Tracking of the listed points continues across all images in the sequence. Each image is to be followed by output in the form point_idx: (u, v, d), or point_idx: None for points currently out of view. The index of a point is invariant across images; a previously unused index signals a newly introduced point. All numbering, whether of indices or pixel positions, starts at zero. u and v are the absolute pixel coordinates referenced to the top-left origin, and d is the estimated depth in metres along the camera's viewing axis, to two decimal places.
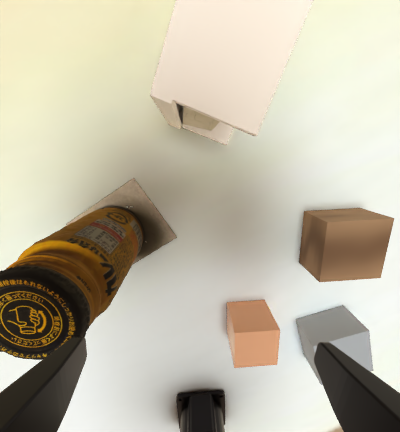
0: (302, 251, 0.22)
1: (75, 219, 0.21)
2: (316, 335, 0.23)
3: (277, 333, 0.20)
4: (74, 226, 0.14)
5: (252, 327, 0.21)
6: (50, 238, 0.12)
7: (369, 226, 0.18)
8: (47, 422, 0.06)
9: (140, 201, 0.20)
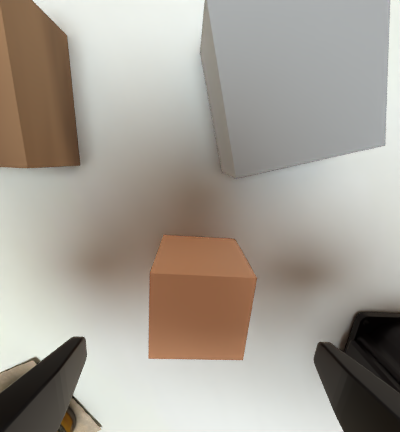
0: None
1: None
2: (227, 154, 0.09)
3: (159, 278, 0.08)
4: None
5: None
6: None
7: None
8: (47, 422, 0.06)
9: None
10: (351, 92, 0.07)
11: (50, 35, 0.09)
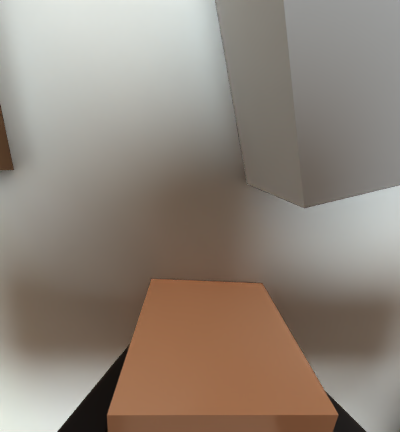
0: None
1: None
2: (273, 153, 0.04)
3: (130, 423, 0.04)
4: None
5: None
6: None
7: None
8: None
9: None
10: None
11: None
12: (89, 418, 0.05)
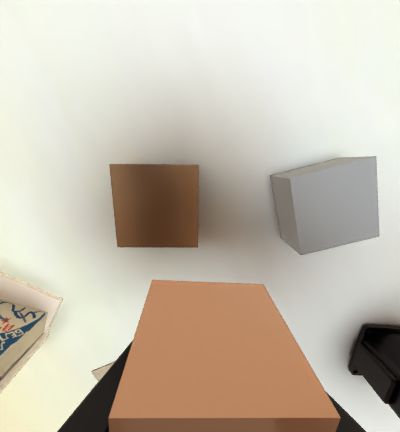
0: None
1: None
2: (292, 238, 0.16)
3: (131, 426, 0.04)
4: None
5: None
6: None
7: (121, 195, 0.14)
8: None
9: None
10: (360, 213, 0.15)
11: None
12: (89, 418, 0.05)
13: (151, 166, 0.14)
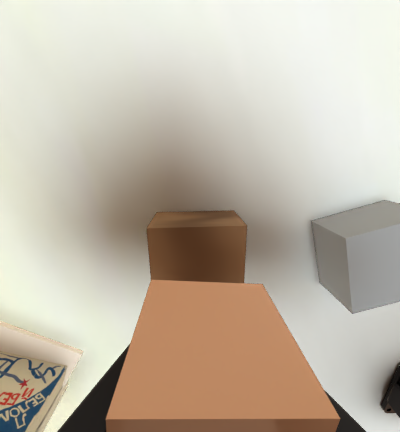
0: None
1: None
2: (340, 293, 0.15)
3: (129, 427, 0.04)
4: None
5: None
6: None
7: (159, 260, 0.13)
8: None
9: None
10: None
11: None
12: (89, 418, 0.05)
13: (194, 228, 0.12)
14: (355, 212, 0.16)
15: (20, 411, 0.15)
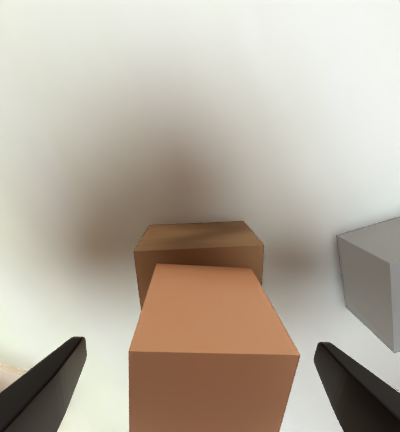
0: None
1: None
2: (377, 325, 0.12)
3: (145, 358, 0.05)
4: None
5: None
6: None
7: None
8: (47, 422, 0.06)
9: None
10: None
11: None
12: None
13: (195, 250, 0.09)
14: (391, 225, 0.13)
15: None
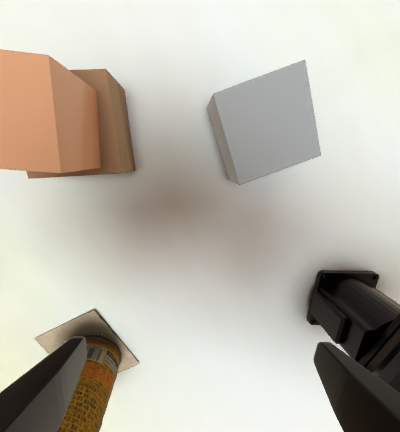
0: None
1: None
2: (232, 170, 0.15)
3: None
4: None
5: None
6: None
7: None
8: (47, 422, 0.06)
9: (57, 335, 0.21)
10: (296, 130, 0.14)
11: (120, 93, 0.15)
12: None
13: None
14: None
15: None
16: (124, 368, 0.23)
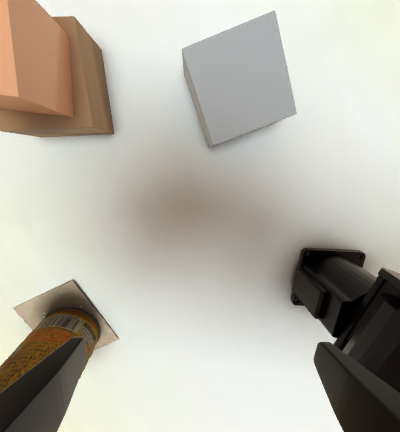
0: (92, 134, 0.17)
1: None
2: (207, 132, 0.15)
3: None
4: None
5: None
6: None
7: None
8: (47, 422, 0.06)
9: (36, 306, 0.21)
10: (270, 86, 0.13)
11: (95, 51, 0.14)
12: None
13: None
14: None
15: None
16: (103, 343, 0.23)
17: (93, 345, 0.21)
